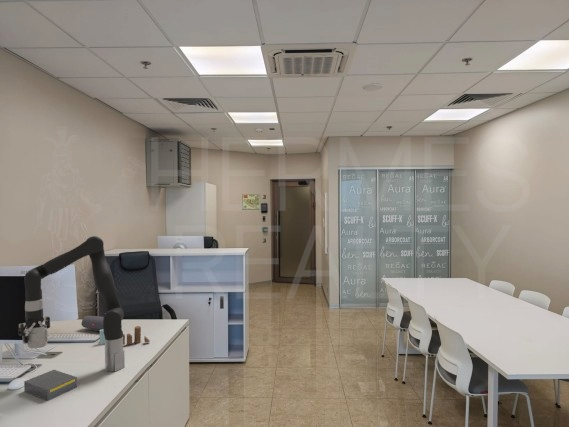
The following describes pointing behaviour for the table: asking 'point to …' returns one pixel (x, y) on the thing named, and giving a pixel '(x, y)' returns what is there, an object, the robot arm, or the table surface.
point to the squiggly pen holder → (102, 337)
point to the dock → (50, 384)
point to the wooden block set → (135, 336)
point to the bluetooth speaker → (93, 322)
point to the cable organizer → (37, 337)
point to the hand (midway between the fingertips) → (35, 340)
